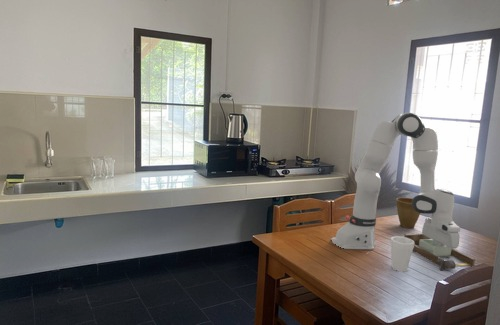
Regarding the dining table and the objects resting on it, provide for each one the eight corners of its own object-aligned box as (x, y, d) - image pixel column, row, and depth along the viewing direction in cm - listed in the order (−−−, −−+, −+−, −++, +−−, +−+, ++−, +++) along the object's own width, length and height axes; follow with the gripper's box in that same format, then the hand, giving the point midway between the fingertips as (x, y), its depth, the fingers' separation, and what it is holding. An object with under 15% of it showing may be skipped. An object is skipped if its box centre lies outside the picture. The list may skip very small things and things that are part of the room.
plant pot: (422, 225, 228) (425, 200, 226) (418, 232, 216) (421, 205, 213) (396, 220, 236) (399, 196, 234) (391, 226, 223) (394, 200, 221)
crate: (432, 257, 177) (434, 247, 177) (418, 249, 187) (419, 239, 186) (450, 256, 180) (451, 246, 179) (435, 248, 190) (436, 238, 189)
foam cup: (392, 262, 170) (395, 234, 168) (413, 268, 165) (417, 240, 163) (385, 268, 163) (388, 240, 161) (406, 275, 157) (410, 245, 155)
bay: (439, 272, 162) (440, 259, 161) (394, 245, 191) (396, 234, 190) (480, 268, 168) (482, 256, 167) (431, 243, 197) (432, 232, 196)
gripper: (420, 216, 188) (417, 242, 191) (452, 230, 169) (448, 259, 171) (431, 216, 190) (428, 242, 192) (463, 229, 171) (459, 258, 173)
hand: (437, 250), depth 181 cm, fingers closed
